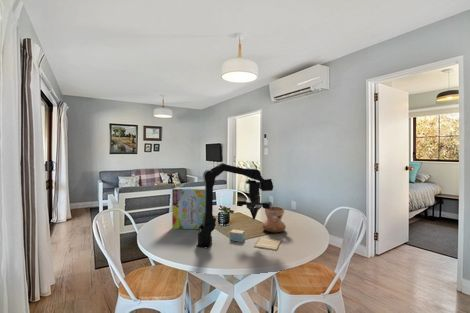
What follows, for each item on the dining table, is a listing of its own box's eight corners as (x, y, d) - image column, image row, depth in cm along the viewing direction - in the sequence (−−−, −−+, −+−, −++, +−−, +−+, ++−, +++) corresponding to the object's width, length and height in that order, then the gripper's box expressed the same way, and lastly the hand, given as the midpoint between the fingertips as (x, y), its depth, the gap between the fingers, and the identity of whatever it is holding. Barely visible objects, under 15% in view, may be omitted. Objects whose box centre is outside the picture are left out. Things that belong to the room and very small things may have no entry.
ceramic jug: (286, 236, 145) (287, 212, 145) (262, 234, 147) (262, 210, 147) (284, 227, 163) (285, 206, 163) (262, 225, 165) (263, 204, 165)
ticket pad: (253, 246, 128) (253, 245, 128) (259, 238, 140) (259, 237, 140) (276, 250, 124) (276, 248, 124) (280, 241, 136) (280, 240, 136)
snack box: (207, 226, 161) (208, 187, 161) (204, 230, 153) (205, 189, 152) (176, 224, 164) (176, 186, 163) (171, 228, 155) (171, 188, 154)
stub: (230, 240, 137) (230, 232, 137) (232, 237, 141) (233, 229, 141) (241, 242, 134) (242, 233, 134) (244, 239, 139) (244, 230, 139)
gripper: (233, 192, 131) (233, 221, 132) (267, 195, 125) (267, 225, 125) (240, 189, 142) (240, 216, 142) (271, 191, 135) (271, 219, 136)
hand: (254, 219), depth 136 cm, fingers closed
